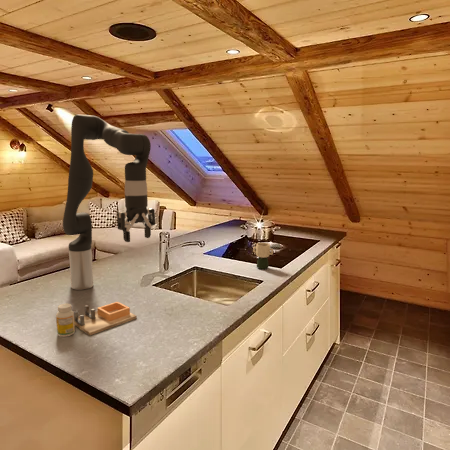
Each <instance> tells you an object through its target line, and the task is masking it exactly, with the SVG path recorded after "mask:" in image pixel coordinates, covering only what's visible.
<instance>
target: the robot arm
mask: <svg viewBox="0 0 450 450" xmlns="http://www.w3.org/2000/svg"><path fill="white" fill-rule="evenodd" d="M70 129H71V130H70V131H71V133H70V137H71V138H70V139H71V141H70V142H71V144H70V145H71V146H70V162H69V169H68V181H67V192H66V194H67V195H66V201H65V208H64V212H63V218H62V229H63V232H64V234H65V235H67V236H74V235H78V237H77V238H75V239H74V240H72V241H71V242H69V243H68V257H69V259H68V260H69V272H70V274H69V275H70V286H71V289H72V290H75V291H76V290H78V291H81V290H88V289H91V288H92V287H94V271H93V253H92V243H93V225H92V223H93V222H92V221H93V220H92V217H91V215H90V213H88V212H84V211H81V212H78V208H79V207H80V205H81V203H82V202H84V201H83V200H84V199H85V198H86V197H87V195H88V194H89V193H90V192H91V190H92V187H93V182H94V181H93V180H94V169H93V166H92V165H91V163H90V162H89V161H90V160H88V158H87V156H86V154H85V150H84V149H85V148H84V141H85V140H88V141H96V140H103V141H104V143H106V145H108V146H110V147H112V148H114V149H116V150H118V152H119V153H120V154H122V155H127V156H135V158H134V160H133V161H132V162H127V163H126V164H125V165H124V202H125V203H124V204H125V208H126V210H125V212H122V211H118V212H117V230H119V231H122V234H123V240H124V242H125V243H130V242H131V232H130V230H131V228H132V227H133V226H134V224H138V223H142V225H144V228H143V229H144V230H143V231H144V238H145V239H149V238H151V235H152V234H151V233H152V230H151V229H152V227H153V226H155V225H156V216H155V215H156V214H155V213H156V212H155V211H156V210H155V209H154V208H151V207H150V208H149V207H148V205H149V204H148V183H147V166H148V161H149V158H150V157H149V156H150V153H151V148H152V147H151V140H150V139H149V137H148V136H147V135H146V134H143V133H129V132H128V131H127V130H125V129H123V128H120V127H118V126H117V127H116V126H114V125H112V124H110V123H108V122H107V121H105V120H104V119H103V118H100V116H96V115H89V114H78V113H77V114H75V115H74V116H73V118H72V120H71V128H70ZM147 207H148V208H147Z"/></svg>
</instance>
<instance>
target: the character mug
mask: <svg viewBox="0 0 450 450" xmlns="http://www.w3.org/2000/svg"><path fill="white" fill-rule="evenodd" d="M252 251H253V253H255V255H256V256H257V257H258V258H257V261H256V262H257V263H256V268H258V269H262V270H263V269H264V270H265V269H268V268H269V259H268V257H270V255H271V256H272V255H273V254H274V249H273V248H271V244H270V243H269V242H268V243H266V242H257V243H256V246H253V250H252Z"/></svg>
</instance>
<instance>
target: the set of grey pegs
mask: <svg viewBox="0 0 450 450" xmlns="http://www.w3.org/2000/svg"><path fill="white" fill-rule="evenodd" d="M95 311H96V309H95V308H92V309H91V308H90V305H88V304H86V305H84V314H80V315H79V311H78V310H74V311H73V312H74V321H75V322H76V323H78V324H79V325H81V326H84V325H85V323H84V315H86V316H87V317H89V318H91V319H92V320H93V319H96V317H95ZM90 313H91V314H90ZM78 317H80V320H79V319H78Z"/></svg>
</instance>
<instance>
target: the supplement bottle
mask: <svg viewBox="0 0 450 450" xmlns="http://www.w3.org/2000/svg"><path fill="white" fill-rule="evenodd" d="M55 318H56V331H57V335H58V336H59V337H64V338H65V337H70V336H72V335H74V333H76V332H75V331H76V328H75V327H76V326H75V323H74V311H73V309H72V304H71V303H61V304H59V305H58V306H57V312H56V314H55Z"/></svg>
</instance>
